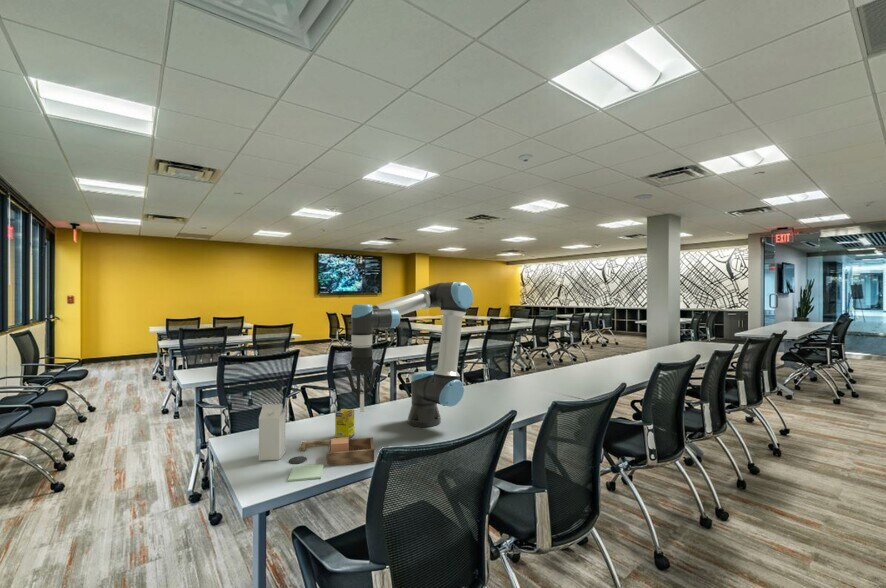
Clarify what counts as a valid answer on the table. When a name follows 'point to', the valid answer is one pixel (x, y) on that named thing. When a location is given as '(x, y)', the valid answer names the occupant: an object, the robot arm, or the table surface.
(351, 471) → the table surface
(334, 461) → the walnut stall
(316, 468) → the felt pad
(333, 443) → the terracotta block
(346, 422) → the supplement box
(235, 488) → the table surface
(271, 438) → the milk carton
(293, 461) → the hole disc
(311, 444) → the oak crook tool
